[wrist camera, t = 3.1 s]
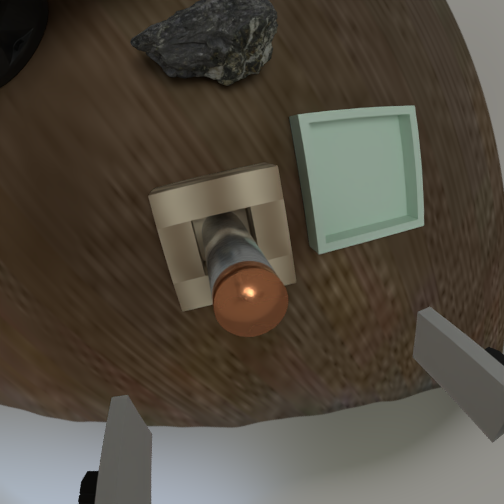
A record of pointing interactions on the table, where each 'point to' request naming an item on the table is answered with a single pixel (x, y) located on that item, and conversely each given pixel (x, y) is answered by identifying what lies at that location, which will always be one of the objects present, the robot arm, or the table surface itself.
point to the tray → (358, 174)
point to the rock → (213, 40)
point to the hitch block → (212, 203)
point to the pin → (241, 278)
